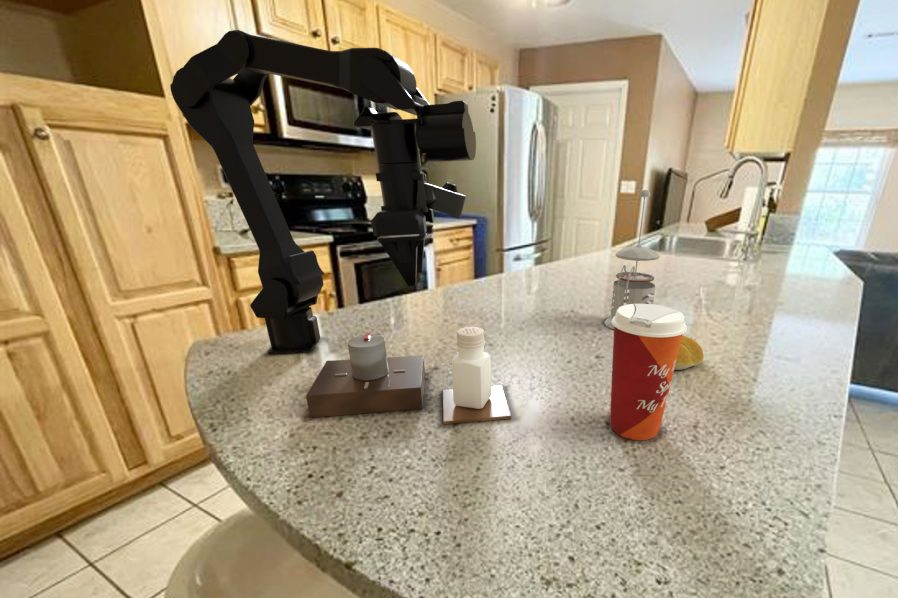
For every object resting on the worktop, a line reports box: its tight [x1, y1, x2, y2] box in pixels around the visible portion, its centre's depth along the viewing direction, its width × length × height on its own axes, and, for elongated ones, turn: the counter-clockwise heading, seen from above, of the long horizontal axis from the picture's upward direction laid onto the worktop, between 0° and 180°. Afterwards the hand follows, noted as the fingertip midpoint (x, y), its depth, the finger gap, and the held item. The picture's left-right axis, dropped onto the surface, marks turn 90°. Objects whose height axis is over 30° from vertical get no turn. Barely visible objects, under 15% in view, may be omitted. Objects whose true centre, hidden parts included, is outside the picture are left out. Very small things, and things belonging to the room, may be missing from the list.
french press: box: [604, 189, 661, 330], centre depth 78 cm, size 10×12×25 cm
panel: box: [305, 354, 426, 419], centre depth 55 cm, size 13×10×3 cm
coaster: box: [442, 385, 512, 425], centre depth 53 cm, size 8×8×1 cm
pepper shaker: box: [451, 326, 492, 409], centre depth 51 cm, size 4×4×10 cm
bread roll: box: [674, 335, 704, 371], centre depth 67 cm, size 8×9×4 cm
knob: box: [346, 332, 388, 380], centre depth 53 cm, size 4×4×5 cm
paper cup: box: [609, 303, 688, 441], centre depth 46 cm, size 8×8×14 cm
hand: (415, 278), depth 62 cm, fingers open, 9 cm apart
